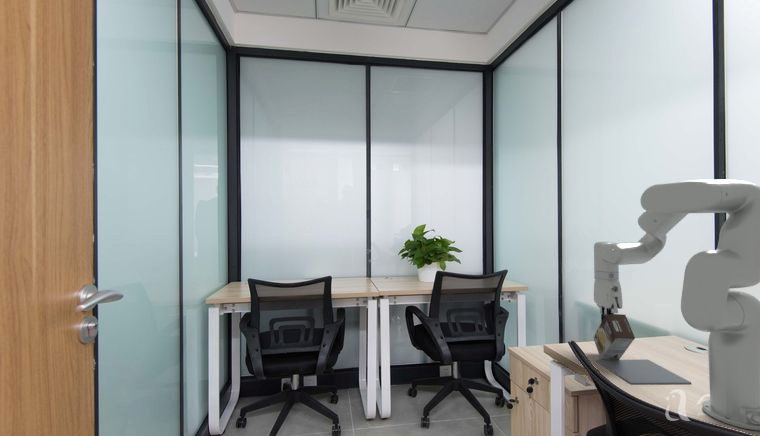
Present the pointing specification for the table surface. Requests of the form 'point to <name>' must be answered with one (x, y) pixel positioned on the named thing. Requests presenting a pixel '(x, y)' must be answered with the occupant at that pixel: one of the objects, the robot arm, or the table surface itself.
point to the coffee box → (613, 337)
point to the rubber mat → (642, 372)
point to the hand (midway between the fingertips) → (607, 325)
